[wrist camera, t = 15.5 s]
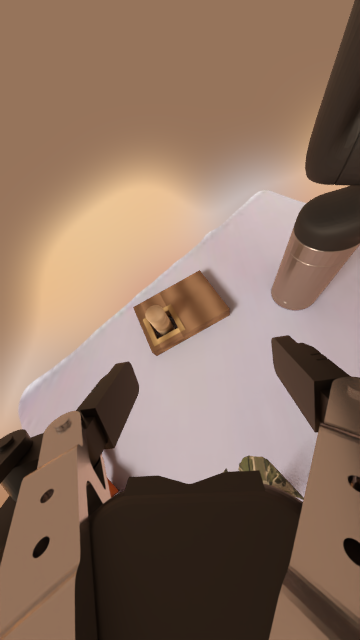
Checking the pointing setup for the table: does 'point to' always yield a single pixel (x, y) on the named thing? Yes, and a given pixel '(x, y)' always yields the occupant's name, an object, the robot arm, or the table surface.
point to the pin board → (183, 311)
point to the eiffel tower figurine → (267, 474)
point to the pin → (159, 319)
